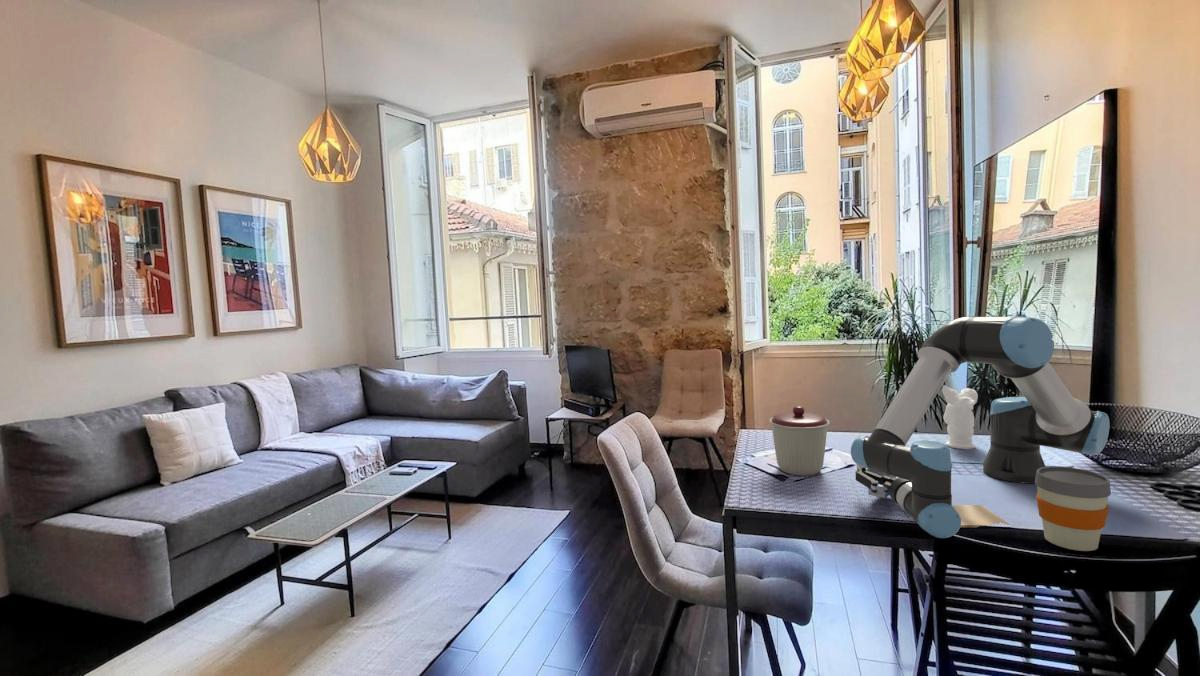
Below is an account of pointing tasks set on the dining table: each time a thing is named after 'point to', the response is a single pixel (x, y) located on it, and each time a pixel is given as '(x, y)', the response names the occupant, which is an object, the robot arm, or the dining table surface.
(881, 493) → the medicine box
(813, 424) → the canister
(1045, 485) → the reusable coffee cup
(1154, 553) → the dining table surface
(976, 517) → the cork mat
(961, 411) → the cherub figurine
